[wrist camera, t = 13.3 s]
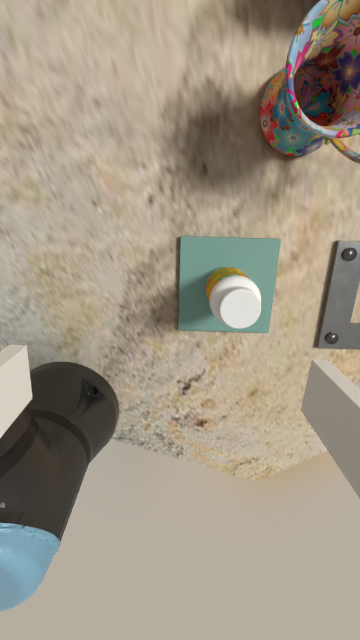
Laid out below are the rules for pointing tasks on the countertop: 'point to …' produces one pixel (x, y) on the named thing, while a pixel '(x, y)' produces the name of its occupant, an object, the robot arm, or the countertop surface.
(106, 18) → the countertop surface
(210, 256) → the mat
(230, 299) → the supplement bottle
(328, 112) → the mug
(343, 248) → the flange plate
